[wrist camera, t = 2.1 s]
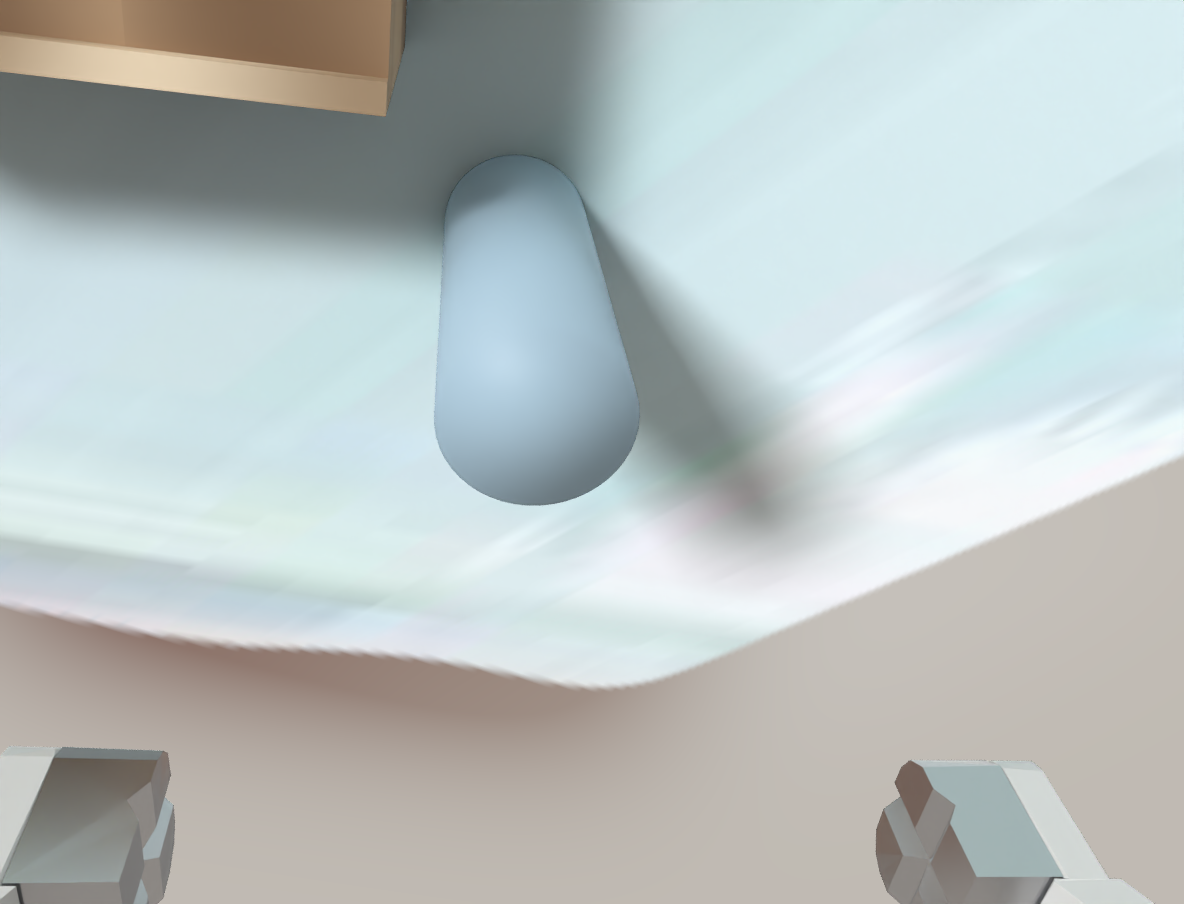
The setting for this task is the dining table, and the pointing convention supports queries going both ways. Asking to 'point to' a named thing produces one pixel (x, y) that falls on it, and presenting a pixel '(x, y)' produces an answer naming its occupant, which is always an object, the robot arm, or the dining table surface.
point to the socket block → (216, 47)
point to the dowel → (528, 340)
